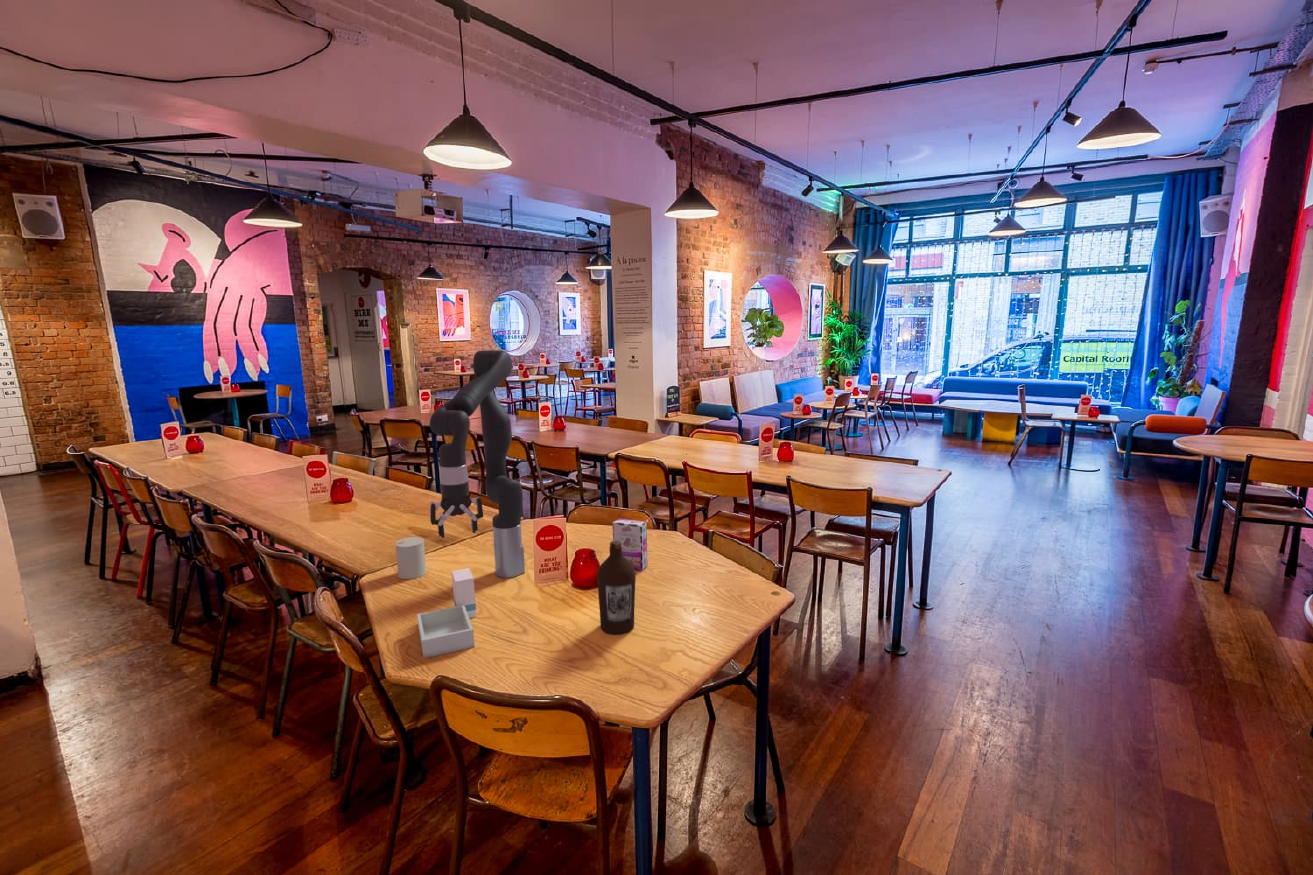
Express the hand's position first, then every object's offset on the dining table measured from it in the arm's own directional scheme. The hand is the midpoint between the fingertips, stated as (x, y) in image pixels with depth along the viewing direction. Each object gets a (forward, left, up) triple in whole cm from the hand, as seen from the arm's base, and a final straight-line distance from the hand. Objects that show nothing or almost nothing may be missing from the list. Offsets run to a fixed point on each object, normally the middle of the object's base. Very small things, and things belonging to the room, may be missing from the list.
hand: (458, 534), depth 172 cm
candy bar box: (-57, -9, -24) cm, 63 cm away
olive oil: (-37, +28, -24) cm, 53 cm away
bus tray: (+7, +13, -24) cm, 28 cm away
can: (+12, -37, -24) cm, 46 cm away
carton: (0, 0, -24) cm, 24 cm away
